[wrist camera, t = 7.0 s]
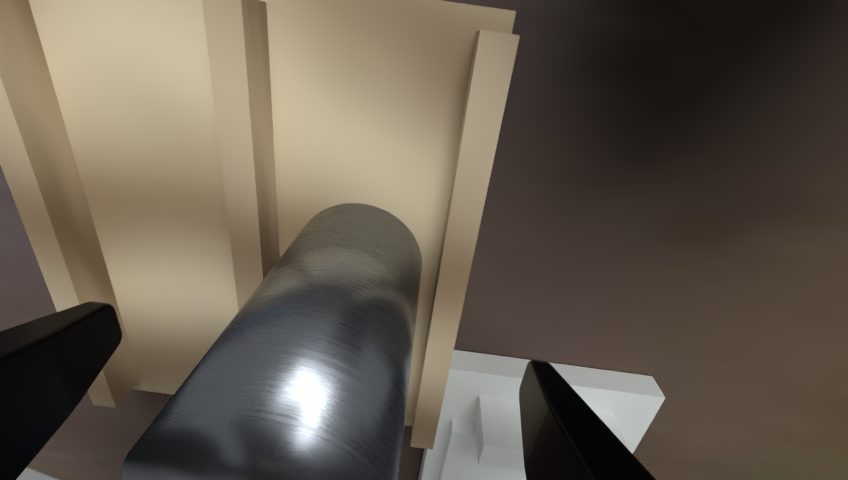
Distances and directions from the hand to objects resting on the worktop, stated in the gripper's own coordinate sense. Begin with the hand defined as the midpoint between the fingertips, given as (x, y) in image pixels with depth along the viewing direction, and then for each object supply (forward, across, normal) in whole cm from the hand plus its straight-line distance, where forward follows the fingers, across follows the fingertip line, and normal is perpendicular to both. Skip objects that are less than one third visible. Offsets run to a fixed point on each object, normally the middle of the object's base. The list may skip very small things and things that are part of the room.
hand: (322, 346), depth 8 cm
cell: (+4, 0, 0) cm, 4 cm away
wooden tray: (+5, +3, 0) cm, 6 cm away
